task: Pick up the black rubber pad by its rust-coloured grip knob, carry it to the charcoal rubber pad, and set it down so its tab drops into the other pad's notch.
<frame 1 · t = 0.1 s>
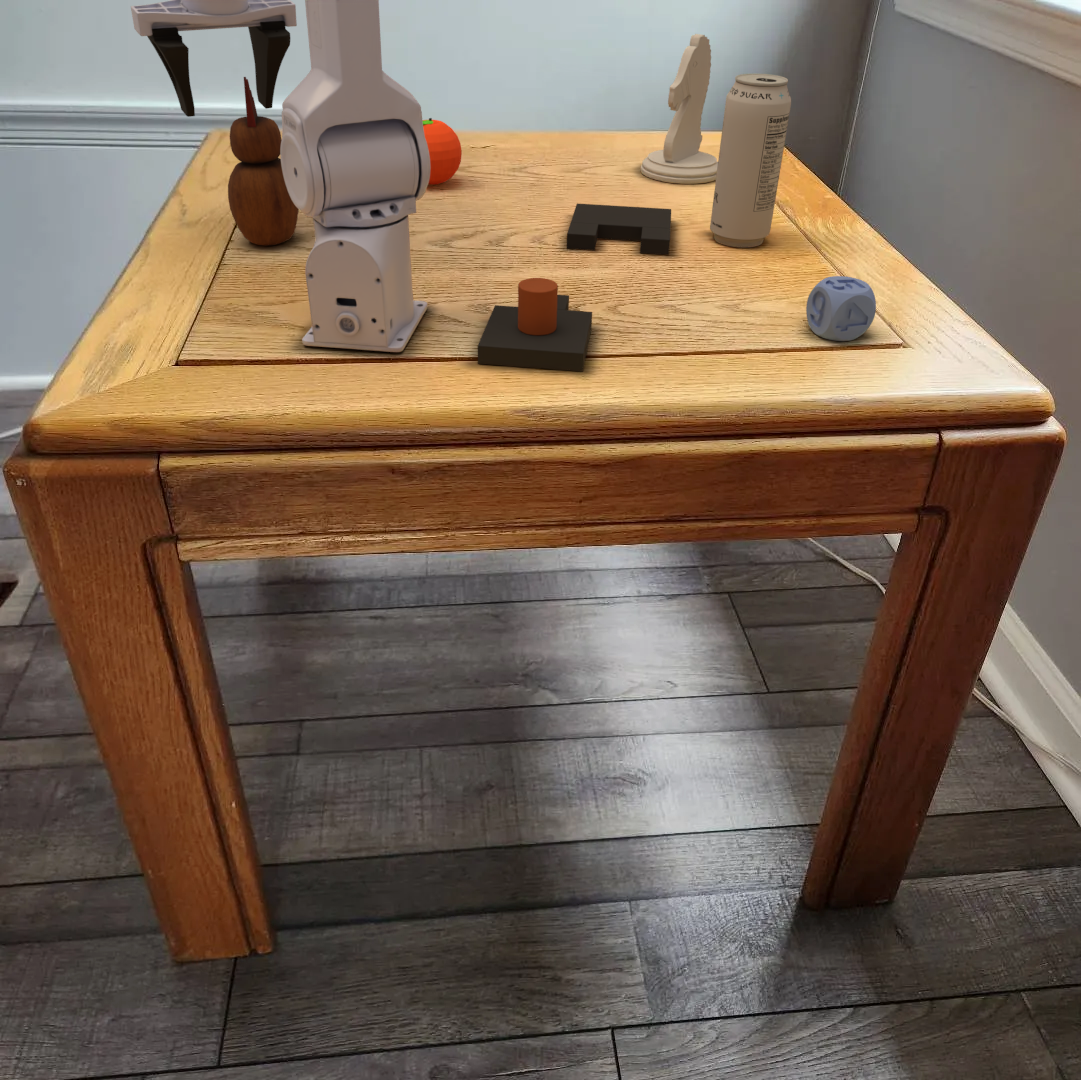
hand: (227, 108, 93), 11 cm above the table, tool pointing down, fingers open, 7 cm apart
toy fire truck: (349, 169, 116), on the table
decorative dice: (835, 333, 79), on the table
pad: (536, 345, 75), on the table
wooden figurine: (271, 242, 94), on the table
chess piece: (680, 174, 117), on the table
clementine: (429, 186, 111), on the table
energy drink can: (738, 241, 97), on the table
base pad: (620, 235, 97), on the table
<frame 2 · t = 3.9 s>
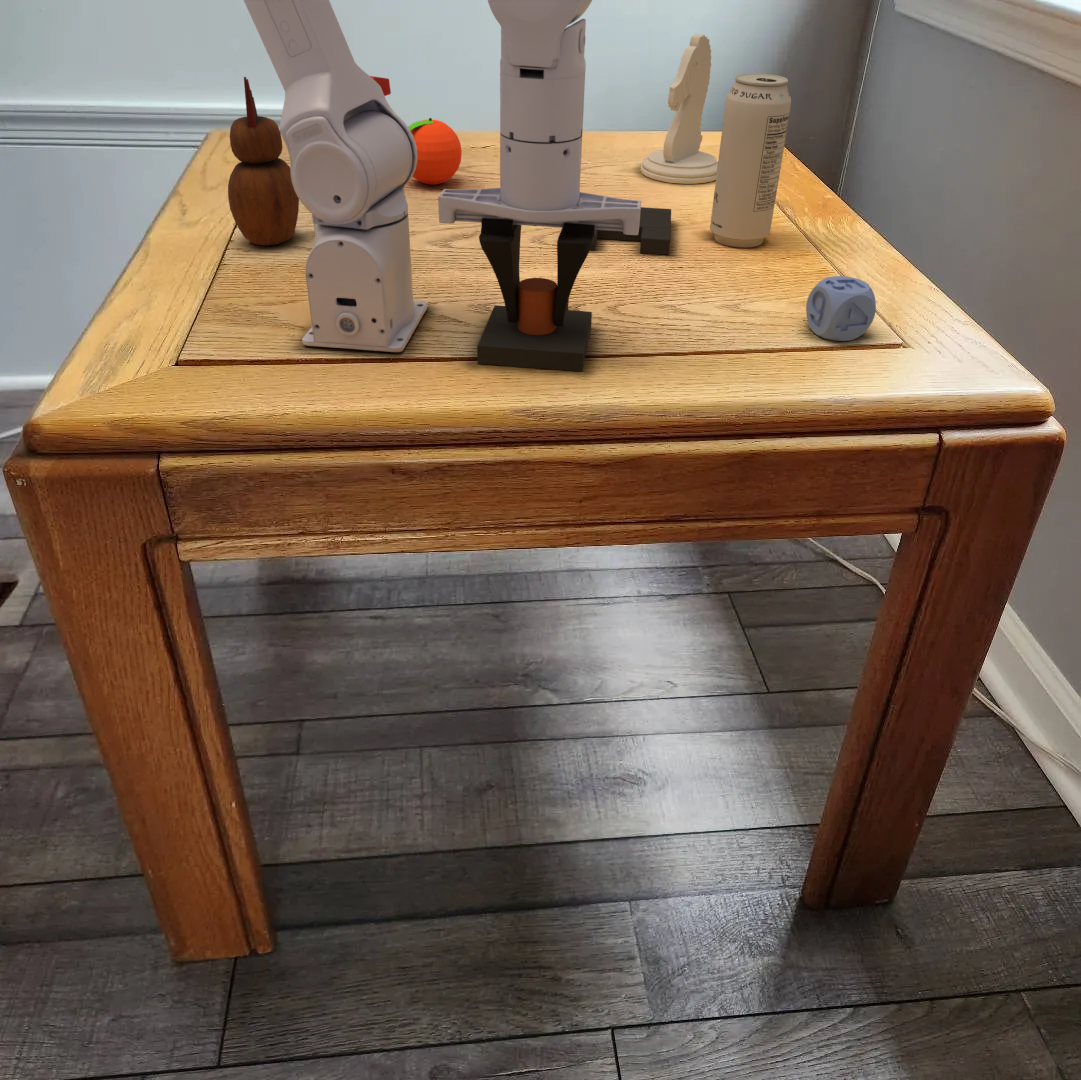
hand: (537, 319, 74), 2 cm above the table, tool pointing down, fingers closed on pad, 3 cm apart
pad: (536, 345, 75), on the table, touching gripper
everything else where it was.
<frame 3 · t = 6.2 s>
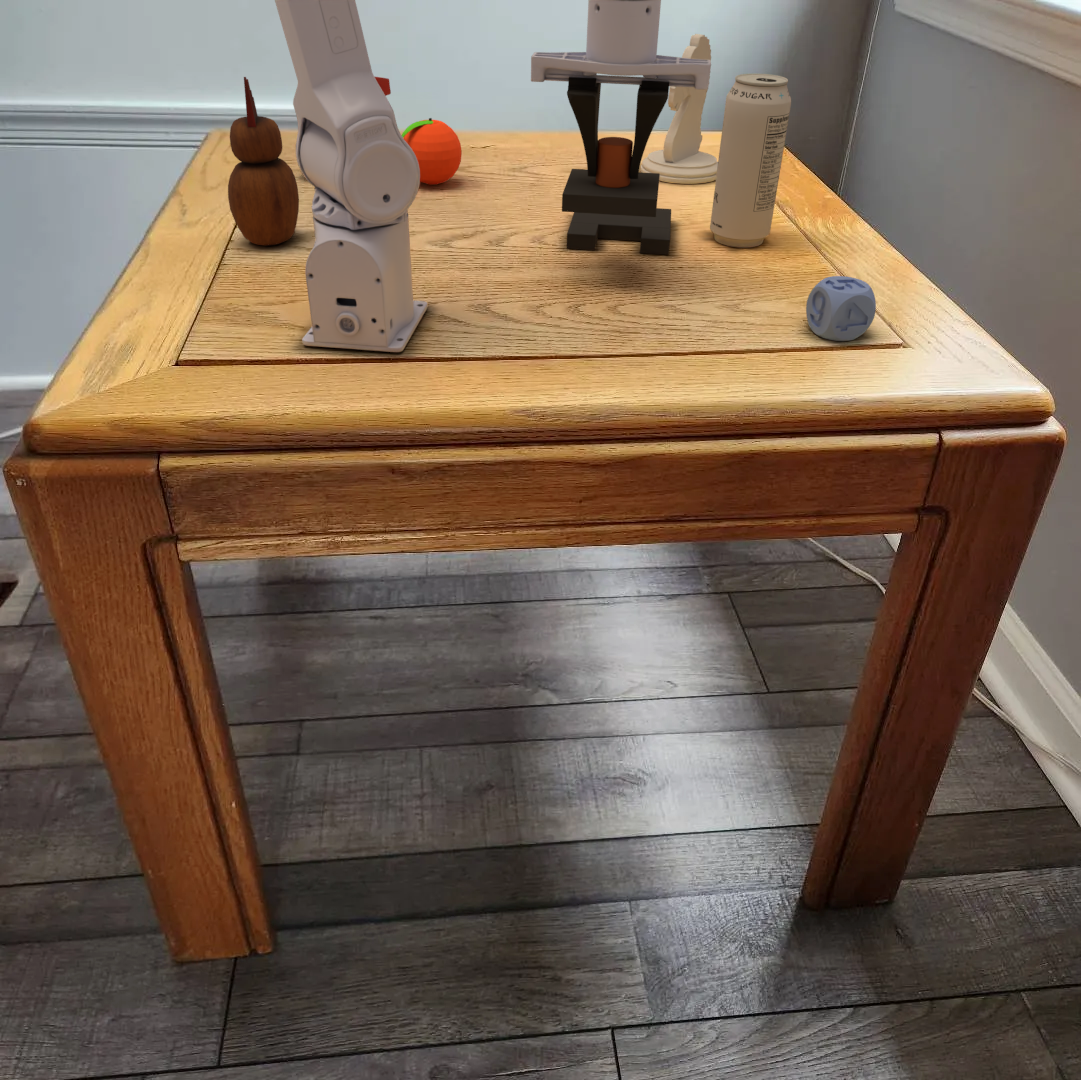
hand: (613, 174, 83), 9 cm above the table, tool pointing down, fingers closed on pad, 3 cm apart
pad: (611, 200, 84), point 7 cm above the table, touching gripper
everything else where it was.
when the fingers open (2 cm above the table, at t = 8.7 s): pad stays where it is, on the table.
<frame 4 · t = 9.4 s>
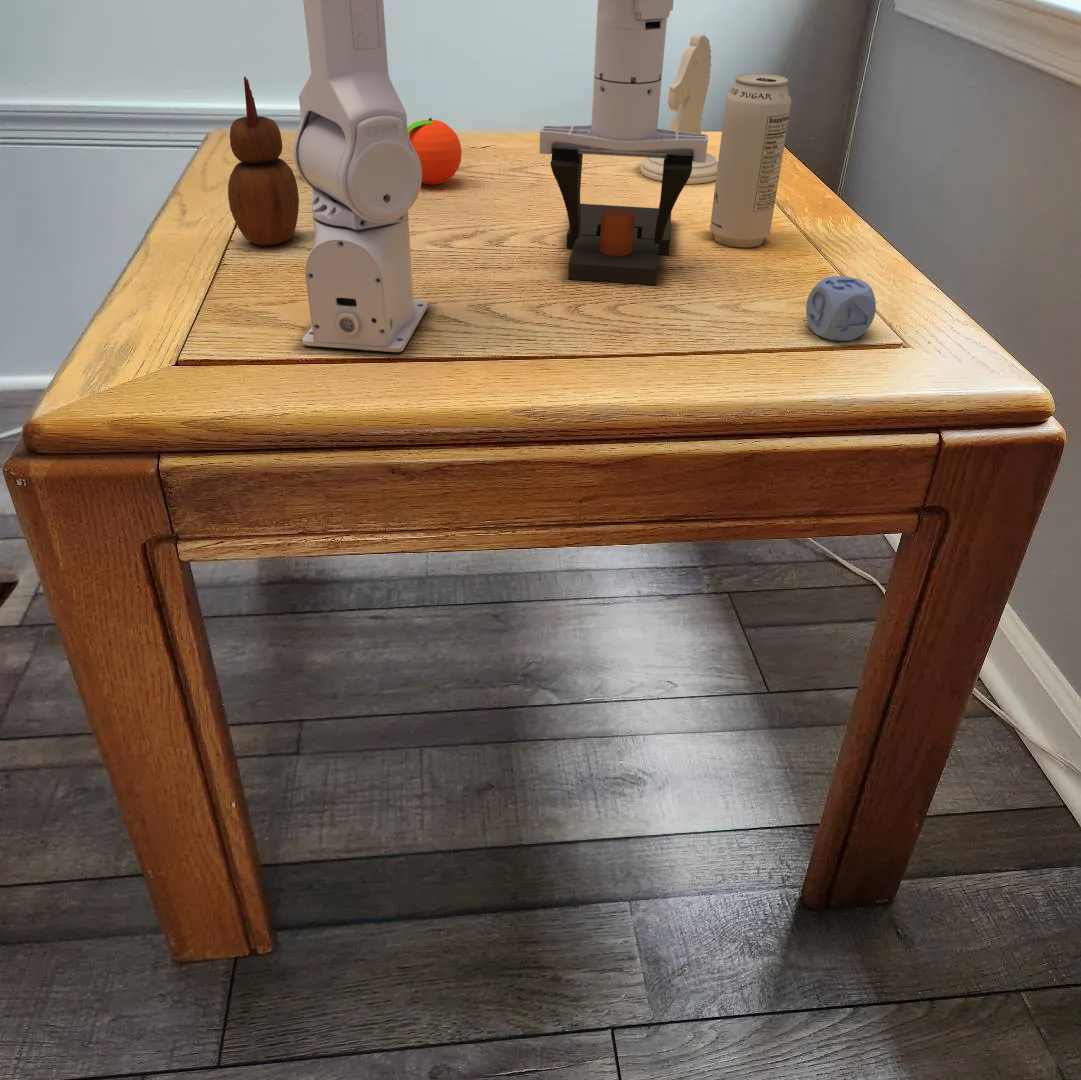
hand: (616, 237, 88), 3 cm above the table, tool pointing down, fingers open, 7 cm apart
pad: (614, 266, 90), on the table
everything else where it was.
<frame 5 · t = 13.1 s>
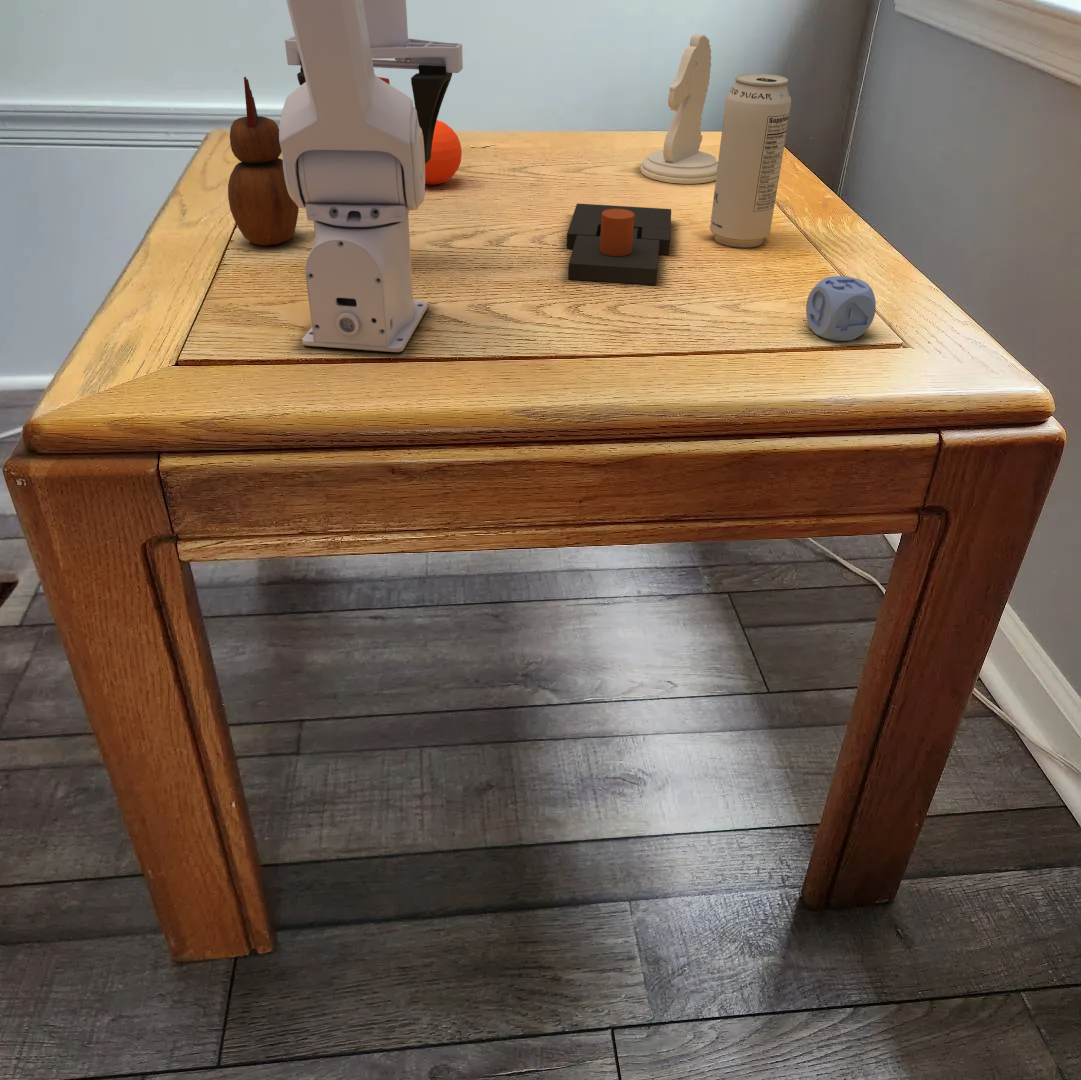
hand: (381, 158, 84), 9 cm above the table, tool pointing down, fingers open, 7 cm apart
nothing on the table moved.
at the end: pad 0.0 cm from the target spot on the table beside the base pad, on the table; pad tilted 0°; the gripper is holding nothing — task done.
